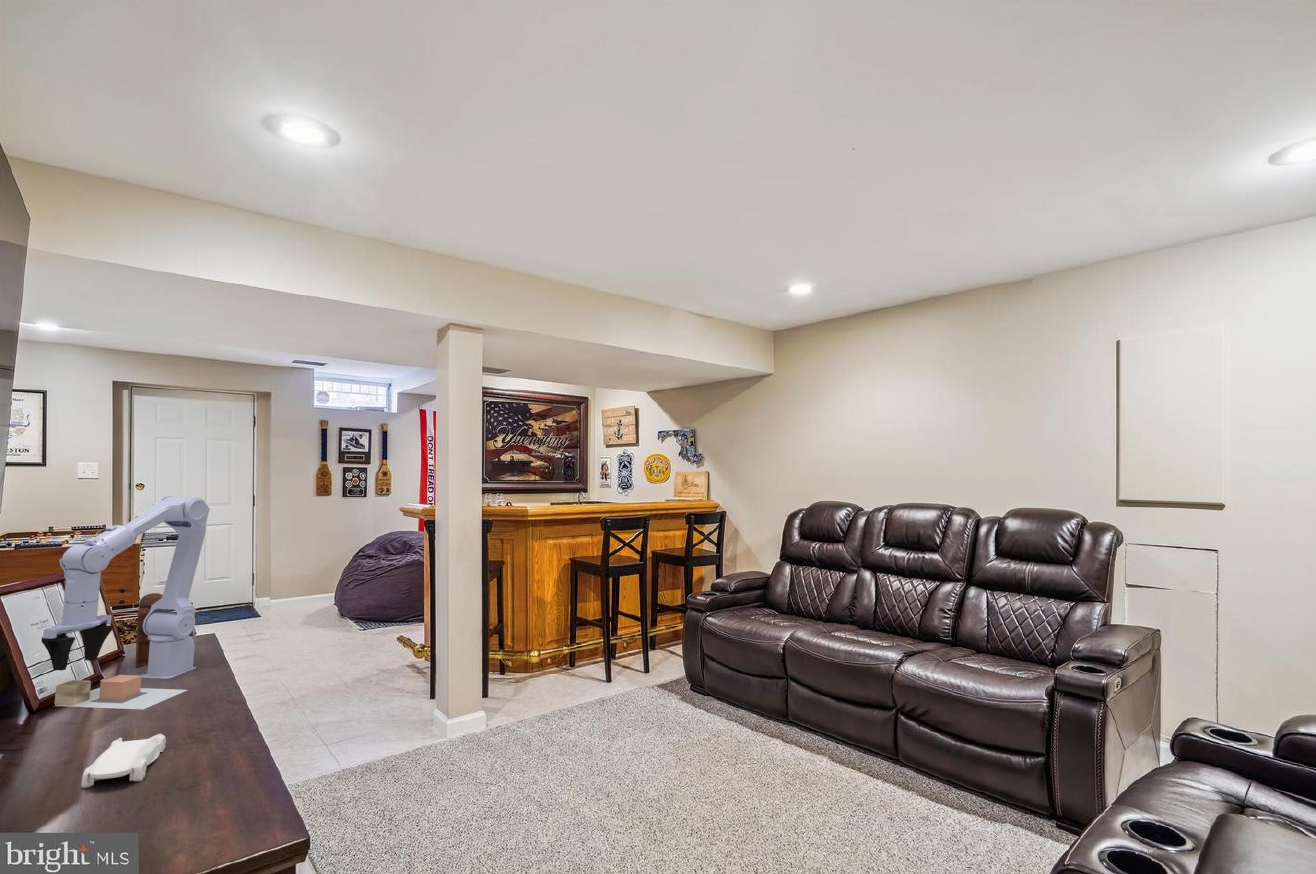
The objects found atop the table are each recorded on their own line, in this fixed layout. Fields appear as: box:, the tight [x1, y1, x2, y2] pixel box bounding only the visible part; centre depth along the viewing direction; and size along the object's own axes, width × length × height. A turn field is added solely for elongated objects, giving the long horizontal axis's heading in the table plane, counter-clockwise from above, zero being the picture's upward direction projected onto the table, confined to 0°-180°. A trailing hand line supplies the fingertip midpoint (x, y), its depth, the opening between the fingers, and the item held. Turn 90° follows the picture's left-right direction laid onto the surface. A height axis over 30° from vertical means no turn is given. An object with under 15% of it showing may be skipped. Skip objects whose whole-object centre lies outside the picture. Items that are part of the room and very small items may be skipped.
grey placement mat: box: [54, 687, 188, 710], centre depth 146 cm, size 13×20×1 cm, turn 89°
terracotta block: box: [99, 674, 142, 701], centre depth 146 cm, size 5×5×4 cm
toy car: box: [81, 733, 167, 789], centre depth 114 cm, size 18×8×4 cm, turn 24°
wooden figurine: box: [135, 592, 163, 669], centre depth 175 cm, size 12×6×18 cm, turn 36°
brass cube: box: [54, 679, 92, 706], centre depth 143 cm, size 4×4×4 cm
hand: (75, 664), depth 143 cm, fingers open, 7 cm apart
